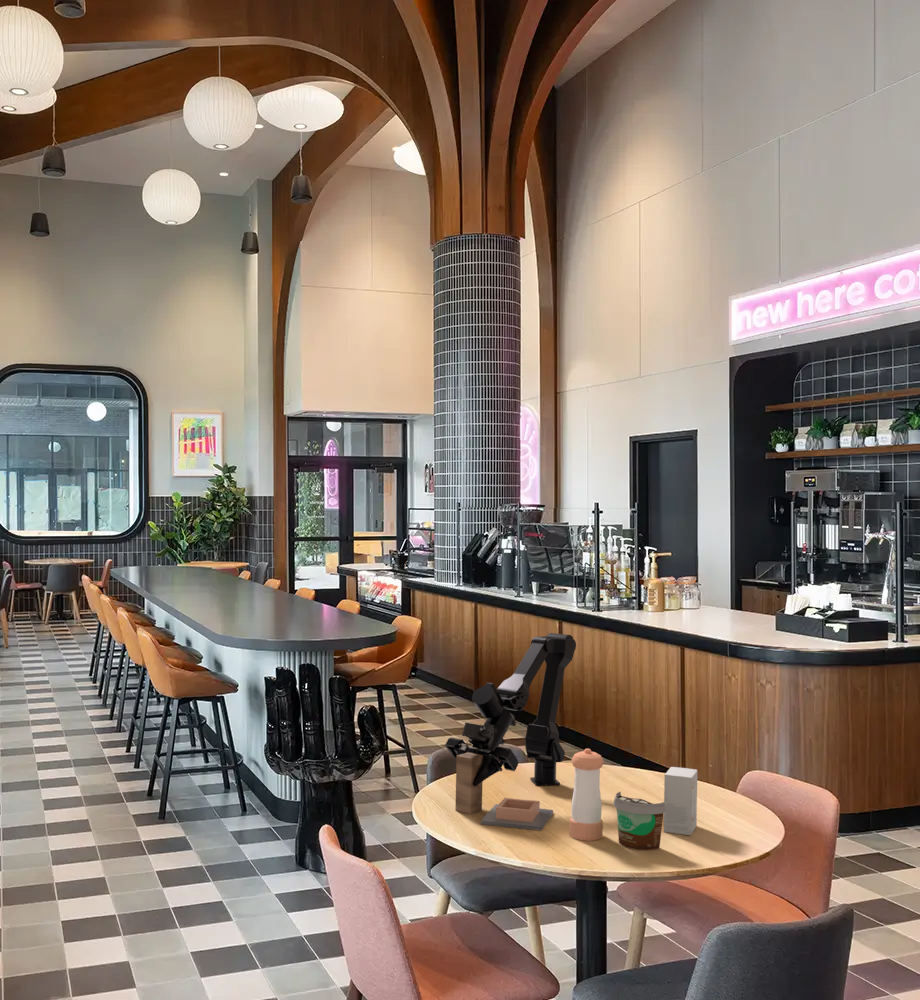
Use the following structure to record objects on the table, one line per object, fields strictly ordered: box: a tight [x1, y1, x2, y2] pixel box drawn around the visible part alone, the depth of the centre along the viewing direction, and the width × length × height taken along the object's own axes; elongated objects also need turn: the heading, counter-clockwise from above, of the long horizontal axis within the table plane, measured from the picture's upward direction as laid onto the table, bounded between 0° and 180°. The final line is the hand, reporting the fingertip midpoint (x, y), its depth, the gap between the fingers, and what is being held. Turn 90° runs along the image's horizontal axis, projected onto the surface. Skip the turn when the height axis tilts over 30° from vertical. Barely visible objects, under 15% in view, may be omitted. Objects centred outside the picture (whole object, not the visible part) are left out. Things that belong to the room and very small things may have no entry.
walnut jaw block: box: [454, 752, 484, 815], centre depth 250 cm, size 4×4×13 cm
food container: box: [613, 791, 666, 851], centre depth 226 cm, size 12×6×10 cm, turn 47°
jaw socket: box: [480, 797, 554, 832], centre depth 244 cm, size 14×14×3 cm
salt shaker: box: [568, 748, 604, 842], centre depth 232 cm, size 7×7×19 cm
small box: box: [663, 766, 698, 836], centre depth 239 cm, size 8×6×13 cm
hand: (465, 783), depth 248 cm, fingers closed on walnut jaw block, 4 cm apart
